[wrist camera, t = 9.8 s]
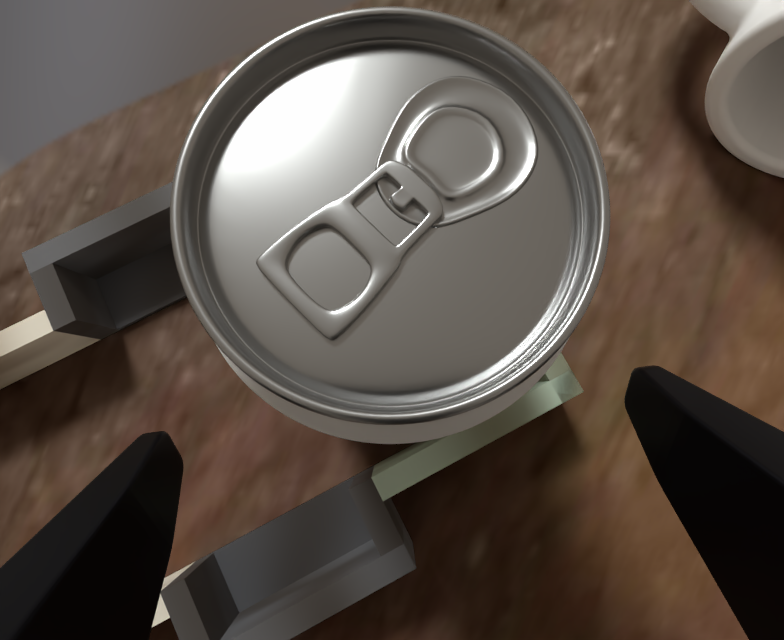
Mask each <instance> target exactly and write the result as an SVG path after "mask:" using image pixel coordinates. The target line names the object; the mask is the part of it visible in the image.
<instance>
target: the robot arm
mask: <svg viewBox="0 0 784 640" xmlns="http://www.w3.org/2000/svg"><path fill="white" fill-rule="evenodd" d="M625 407H626V410H627V413H628V415H629V417H630V420H631V422H632V424H633V426H634V429H635V431H636V433H637V436H638V438H639V440H640V442H641V445H642V447H643V449H644V451H645V454H646V456H647V458H648V460H649V463H650V465H651V467H652V469H653V472H654V474H655V476H656V478H657V480H658V482H659V484H660V485H661V487H662V489H663V491H664V493H665V495H666V496H667V498H668V500H669V501H670V503H671V505H672V507H673V508H674V510H675V512H676V514H677V515H678V517H679V519H680V521H681V522H682V524H683V526H684V528H685V529H686V531H687V533H688V534H689V536H690V538H691V540H692V541H693V543H694V545H695V547H696V548H697V550H698V552H699V554H700V555H701V557H702V559H703V561H704V562H705V564H706V566H707V567H708V569H709V571H710V573H711V574H712V576H713V578H714V580H715V581H716V583H717V585H718V587H719V588H720V590H721V592H722V594H723V595H724V597H725V599H726V600H727V602H728V604H729V606H730V607H731V609H732V611H733V613H734V614H735V616H736V618H737V620H738V621H739V623H740V625H741V627H742V628H743V630H744V632H745V633H746V635H747V637H748V639H749V640H784V432H783V431H781V430H779V429H777V428H775V427H773V426H771V425H769V424H767V423H765V422H764V421H762V420H760V419H758V418H756V417H754V416H752V415H750V414H748V413H747V412H745V411H743V410H741V409H739V408H737V407H735V406H733V405H731V404H729V403H728V402H726V401H724V400H722V399H720V398H718V397H716V396H714V395H712V394H711V393H709V392H707V391H705V390H703V389H701V388H699V387H697V386H695V385H693V384H692V383H690V382H688V381H686V380H684V379H682V378H680V377H678V376H676V375H675V374H673V373H671V372H669V371H667V370H665V369H663V368H661V367H659V366H645V367H638V368H635V369H634V370H633V371H632V373H631V377H630V380H629V384H628V387H627V391H626V395H625ZM182 476H183V460H182V457H181V455H180V453H179V452H178V450H177V448H176V446H175V445H174V443H173V441H172V439H171V438H170V436H169V434H168V433H166V432H165V431H159V432H151V433H145V434H142V435H141V436H139V437H138V438H137V439H136V440H135V441H134V442H133V443H132V444H131V445H130V446H129V447H128V448H127V449H125V450H124V451H123V452H122V453H121V454H120V455H119V456H118V457H117V458H116V459H115V460H114V461H113V462H112V463H111V464H110V465H109V466H108V467H106V468H105V469H104V470H103V471H102V472H101V473H100V474H99V475H98V476H97V477H96V478H95V479H94V480H93V481H92V482H91V483H90V484H89V485H87V486H86V487H85V488H84V489H83V490H82V491H81V492H80V493H79V494H78V495H77V496H76V497H75V498H74V499H73V500H72V501H71V502H70V503H68V504H67V505H66V506H65V507H64V508H63V509H62V510H61V511H60V512H59V513H58V514H57V515H56V516H55V517H54V518H53V519H52V520H51V521H49V522H48V523H47V524H46V525H45V526H44V527H43V528H42V529H41V530H40V531H39V532H38V533H37V534H36V535H35V536H34V537H33V538H32V539H30V540H29V541H28V542H27V543H26V544H25V545H24V546H23V547H22V548H21V549H20V550H19V551H18V552H17V553H16V554H15V555H14V556H13V557H11V558H10V559H9V560H8V561H7V562H6V563H5V564H4V565H3V566H2V567H1V568H0V640H149V636H150V632H151V628H152V624H153V620H154V617H155V613H156V609H157V605H158V601H159V597H160V593H161V589H162V585H163V582H164V578H165V574H166V570H167V566H168V562H169V558H170V553H171V549H172V544H173V538H174V532H175V525H176V518H177V511H178V504H179V497H180V490H181V483H182Z"/></svg>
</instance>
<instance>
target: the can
mask: <svg viewBox="0 0 784 640" xmlns="http://www.w3.org/2000/svg"><path fill="white" fill-rule="evenodd" d="M170 232H171V241H172V248H173V254H174V259H175V263H176V267H177V271H178V274H179V277H180V280H181V283H182V286H183V289H184V291H185V293H186V296H187V298H188V300H189V302H190V304H191V306H192V308H193V310H194V312H195V314H196V316H197V317H198V319H199V321H200V322H201V324H202V326H203V327H204V329H205V330H206V332H207V333H208V334H209V336H210V337H211V338H212V340H213V341H214V342H215V344H216V346H217V347H218V349H219V351H220V352H221V354H222V355H223V357H224V358H225V360H226V361H227V362H228V364H229V365H230V366H231V368H232V369H233V370H234V372H235V373H236V374H237V375H238V376H239V377H240V378H241V380H242V381H243V382H244V383H245V384H246V385H247V386H248V387H249V388H250V389H251V390H252V391H254V392H255V393H256V394H257V395H258V396H259V397H260V398H262V399H263V400H264V401H265V402H267V403H268V404H269V405H271V406H272V407H274V408H275V409H276V410H278V411H279V412H281V413H283V414H284V415H286V416H288V417H289V418H291V419H293V420H295V421H297V422H299V423H301V424H303V425H305V426H307V427H310V428H312V429H314V430H317V431H320V432H323V433H325V434H328V435H332V436H335V437H339V438H343V439H347V440H353V441H358V442H366V443H376V444H405V443H415V442H423V441H428V440H433V439H438V438H442V437H446V436H449V435H452V434H455V433H458V432H461V431H464V430H466V429H469V428H471V427H474V426H476V425H478V424H480V423H482V422H484V421H486V420H488V419H490V418H492V417H493V416H495V415H497V414H498V413H500V412H501V411H503V410H505V409H506V408H507V407H509V406H510V405H512V404H513V403H514V402H516V401H517V400H518V399H519V398H521V397H522V396H523V395H524V394H525V393H526V392H527V391H529V390H530V389H531V388H532V387H533V386H534V385H535V384H536V383H537V382H538V381H539V380H540V378H541V377H542V376H543V375H544V374H545V373H546V372H547V370H548V369H549V368H550V367H551V365H552V364H553V363H554V361H555V360H556V358H557V357H558V355H559V354H560V352H561V351H562V349H563V348H564V346H565V344H566V342H567V341H568V339H569V337H570V335H571V334H572V332H573V331H574V330H575V328H576V327H577V325H578V324H579V322H580V320H581V319H582V317H583V315H584V313H585V312H586V310H587V308H588V306H589V304H590V302H591V300H592V297H593V295H594V293H595V291H596V288H597V285H598V283H599V280H600V277H601V274H602V270H603V267H604V263H605V258H606V254H607V248H608V241H609V232H610V199H609V189H608V183H607V177H606V172H605V168H604V164H603V160H602V157H601V154H600V151H599V148H598V145H597V143H596V140H595V138H594V135H593V133H592V131H591V129H590V127H589V125H588V123H587V121H586V119H585V117H584V115H583V114H582V112H581V110H580V109H579V107H578V106H577V104H576V103H575V101H574V100H573V98H572V97H571V96H570V94H569V93H568V92H567V90H566V89H565V88H564V87H563V85H562V84H561V83H560V82H559V81H558V80H557V79H556V77H555V76H554V75H553V74H552V73H551V72H550V71H549V70H548V69H547V68H546V67H545V66H544V65H542V64H541V63H540V62H539V61H538V60H537V59H536V58H534V57H533V56H532V55H531V54H529V53H528V52H527V51H525V50H524V49H523V48H521V47H520V46H518V45H517V44H515V43H514V42H512V41H511V40H509V39H507V38H506V37H504V36H502V35H500V34H498V33H497V32H495V31H493V30H491V29H489V28H486V27H484V26H482V25H480V24H477V23H475V22H472V21H469V20H467V19H464V18H461V17H457V16H454V15H451V14H446V13H442V12H438V11H433V10H427V9H420V8H411V7H370V8H361V9H354V10H348V11H343V12H339V13H334V14H330V15H327V16H323V17H320V18H317V19H314V20H311V21H309V22H306V23H304V24H301V25H299V26H297V27H294V28H292V29H290V30H288V31H286V32H284V33H282V34H281V35H279V36H277V37H275V38H274V39H272V40H270V41H269V42H267V43H266V44H264V45H263V46H261V47H260V48H258V49H257V50H255V51H254V52H253V53H251V54H250V55H249V56H248V57H246V58H245V59H244V60H243V61H242V62H241V63H239V64H238V65H237V66H236V67H235V68H234V69H233V70H232V71H231V72H230V73H229V74H228V75H227V76H226V77H225V78H224V79H223V80H222V81H221V83H220V84H219V85H218V86H217V87H216V89H215V90H214V91H213V92H212V94H211V95H210V96H209V98H208V99H207V101H206V102H205V103H204V105H203V107H202V108H201V110H200V111H199V113H198V115H197V116H196V118H195V120H194V122H193V124H192V126H191V128H190V130H189V132H188V134H187V136H186V139H185V141H184V144H183V146H182V149H181V152H180V155H179V158H178V162H177V165H176V169H175V174H174V178H173V184H172V191H171V201H170Z"/></svg>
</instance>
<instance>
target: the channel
mask: <svg viewBox="0 0 784 640" xmlns="http://www.w3.org/2000/svg"><path fill="white" fill-rule="evenodd" d="M172 184H173V182H171V183H169V184H167V185H165V186H163V187H161V188H159V189H156V190H154V191H152V192H150V193H148V194H146V195H144V196H142V197H140V198H137V199H135V200H133V201H131V202H129V203H127V204H125V205H123V206H120V207H118V208H116V209H114V210H112V211H110V212H108V213H106V214H104V215H101V216H99V217H97V218H95V219H93V220H91V221H89V222H87V223H85V224H82V225H80V226H78V227H76V228H74V229H72V230H70V231H68V232H66V233H63V234H61V235H59V236H57V237H55V238H53V239H51V240H49V241H47V242H44V243H42V244H40V245H38V246H36V247H34V248H32V249H30V250H28V251H25V252H23V253H22V255H23V258H24V260H25V263H26V265H27V268H28V270H29V273H30V275H31V278H32V280H33V282H34V285H35V287H36V290H37V292H38V295H39V297H40V300H41V302H42V305H43V307H44V309H45V310H43V311H41V312H39V313H37V314H35V315H33V316H31V317H29V318H27V319H25V320H23V321H20V322H18V323H16V324H14V325H12V326H10V327H8V328H6V329H4V330H2V331H0V389H2V388H4V387H6V386H8V385H10V384H12V383H14V382H16V381H18V380H20V379H22V378H24V377H26V376H28V375H30V374H32V373H34V372H36V371H38V370H40V369H42V368H44V367H47V366H49V365H51V364H53V363H55V362H57V361H59V360H61V359H63V358H65V357H67V356H69V355H71V354H73V353H75V352H77V351H79V350H81V349H83V348H85V347H87V346H89V345H91V344H93V343H95V342H97V341H99V340H101V339H103V338H105V337H107V336H109V335H111V334H113V333H115V332H117V331H119V330H121V329H123V328H125V327H127V326H130V325H132V324H134V323H136V322H138V321H140V320H142V319H144V318H146V317H148V316H150V315H152V314H154V313H156V312H158V311H160V310H162V309H164V308H166V307H168V306H170V305H172V304H174V303H176V302H178V301H180V300H182V299H184V298H186V297H187V296H186V293H185V291H184V289H183V286H182V283H181V280H180V277H179V274H178V271H177V267H176V263H175V259H174V254H173V248H172V241H171V232H170V201H171V191H172ZM582 392H584V391H583V389H582V388H581V386H580V384H579V383H578V381H577V379H576V377H575V376H574V374H573V372H572V371H571V369H570V367H569V365H568V364H567V362H566V360H565V358H564V357H563V355H562V353H561V352H560V354H559V355H558V357H557V358H556V360H555V361H554V363H553V364H552V365H551V367H550V368H549V369H548V370H547V372H546V373H545V374H544V375H543V376H542V377H541V378H540V380H539V381H538V382H537V383H536V384H535V385H534V386H533V387H532V388H531V389H530V390H529V391H527V392H526V393H525V394H524V395H523V396H522V397H521V398H519V399H518V400H517V401H516V402H514V403H513V404H512V405H510V406H509V407H507V408H506V409H505V410H503V411H501V412H500V413H498V414H497V415H495V416H493V417H492V418H490V419H488V420H486V421H484V422H482V423H480V424H478V425H476V426H474V427H471V428H469V429H466V430H464V431H461V432H458V433H455V434H452V435H449V436H446V437H442V438H438V439H433V440H428V441H423V442H416V443H415V444H413V445H411V446H409V447H407V448H405V449H403V450H402V451H400V452H398V453H396V454H394V455H392V456H390V457H389V458H387V459H385V460H383V461H381V462H379V463H377V464H376V465H374V466H372V467H370V468H368V469H366V470H364V471H363V472H361V473H359V474H357V475H355V476H353V477H351V478H350V479H348V480H346V481H344V482H342V483H340V484H338V485H337V486H335V487H333V488H331V489H329V490H327V491H325V492H324V493H322V494H320V495H318V496H316V497H314V498H313V499H311V500H309V501H307V502H305V503H303V504H301V505H300V506H298V507H296V508H294V509H292V510H290V511H288V512H287V513H285V514H283V515H281V516H279V517H277V518H275V519H274V520H272V521H270V522H268V523H266V524H264V525H262V526H261V527H259V528H257V529H255V530H253V531H251V532H249V533H248V534H246V535H244V536H242V537H240V538H238V539H236V540H235V541H233V542H231V543H229V544H227V545H225V546H223V547H222V548H220V549H218V550H216V551H214V552H212V553H210V554H209V555H207V556H205V557H203V558H201V559H199V560H198V561H196V562H194V563H192V564H190V565H188V566H186V567H185V568H183V569H181V570H179V571H177V572H175V573H173V574H172V575H170V576H168V577H166V578H164V582H163V585H162V589H161V593H160V597H159V601H158V605H157V609H156V613H155V617H154V620H153V624H152V627H154V626H156V625H157V624H159V623H161V622H163V621H165V620H167V619H168V618H171V621H172V623H173V626H174V628H175V631H176V633H177V636H178V638H179V640H290V639H291V638H293V637H295V636H297V635H299V634H300V633H302V632H304V631H306V630H307V629H309V628H311V627H313V626H315V625H316V624H318V623H320V622H322V621H324V620H325V619H327V618H329V617H331V616H332V615H334V614H336V613H338V612H340V611H341V610H343V609H345V608H347V607H348V606H350V605H352V604H354V603H356V602H357V601H359V600H361V599H363V598H364V597H366V596H368V595H370V594H372V593H373V592H375V591H377V590H379V589H381V588H382V587H384V586H386V585H388V584H389V583H391V582H393V581H395V580H397V579H398V578H400V577H402V576H404V575H405V574H407V573H409V572H411V571H413V570H414V569H416V564H415V556H414V548H413V542H412V540H411V538H410V536H409V534H408V532H407V530H406V528H405V526H404V524H403V522H402V520H401V517H400V515H399V513H398V511H397V509H396V507H395V505H394V503H393V501H392V499H391V497H392V496H394V495H395V494H397V493H399V492H401V491H403V490H405V489H406V488H408V487H410V486H412V485H414V484H416V483H417V482H419V481H421V480H423V479H425V478H427V477H428V476H430V475H432V474H434V473H436V472H438V471H439V470H441V469H443V468H445V467H447V466H449V465H450V464H452V463H454V462H456V461H458V460H460V459H461V458H463V457H465V456H467V455H469V454H471V453H472V452H474V451H476V450H478V449H480V448H481V447H483V446H485V445H487V444H489V443H491V442H492V441H494V440H496V439H498V438H500V437H502V436H503V435H505V434H507V433H509V432H511V431H513V430H514V429H516V428H518V427H520V426H522V425H524V424H525V423H527V422H529V421H531V420H533V419H535V418H536V417H538V416H540V415H542V414H544V413H546V412H547V411H549V410H551V409H553V408H555V407H557V406H558V405H560V404H562V403H564V402H566V401H568V400H569V399H571V398H573V397H575V396H577V395H579V394H580V393H582Z"/></svg>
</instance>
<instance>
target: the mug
mask: <svg viewBox="0 0 784 640" xmlns="http://www.w3.org/2000/svg"><path fill="white" fill-rule="evenodd" d="M689 1H690V2H691V4H692V5H693V6H694V7H695V8H696V9H697V10H698V11H699V12H700V13H701V14H702V15H703V16H705V17H706V18H707V19H708V20H709V21H711V22H712V23H713V24H715V25H716V26H718V27H719V28H720V29H722V30H724V31H725V32H727V33H728V35H729V42H728V44H727V45H726V47H725V49H724V51H723V53H722V55H721V56H720V58H719V60H718V62H717V64H716V66H715V67H714V69H713V71H712V73H711V76H710V78H709V81H708V84H707V88H706V92H705V112H706V117H707V121H708V124H709V126H710V128H711V130H712V132H713V134H714V135H715V137H716V138H717V139H718V141H719V142H720V143H721V144H722V145H723V146H724V147H725V148H726V149H727V150H728V151H729V152H730V153H731V154H733V155H734V156H735V157H737V158H738V159H740V160H741V161H743V162H745V163H746V164H748V165H750V166H752V167H754V168H756V169H759V170H761V171H763V172H766V173H769V174H771V175H775V176H778V177H781V178H784V0H689Z"/></svg>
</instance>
